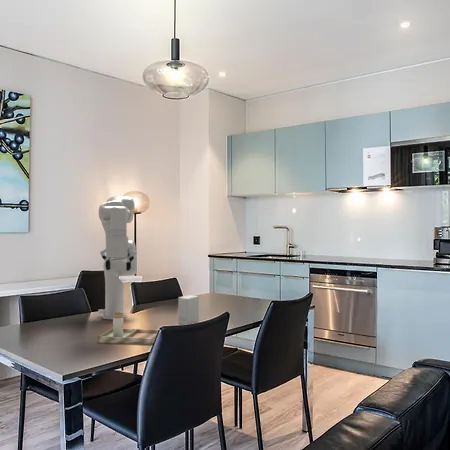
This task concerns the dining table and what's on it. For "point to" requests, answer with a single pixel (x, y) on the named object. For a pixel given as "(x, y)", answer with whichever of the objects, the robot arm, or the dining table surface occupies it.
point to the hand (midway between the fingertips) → (118, 270)
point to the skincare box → (188, 309)
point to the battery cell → (118, 324)
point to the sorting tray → (129, 336)
